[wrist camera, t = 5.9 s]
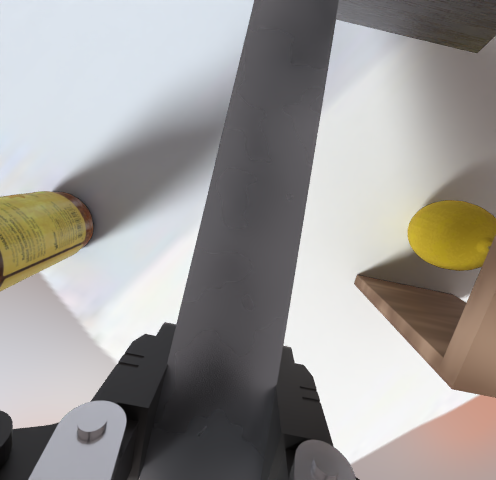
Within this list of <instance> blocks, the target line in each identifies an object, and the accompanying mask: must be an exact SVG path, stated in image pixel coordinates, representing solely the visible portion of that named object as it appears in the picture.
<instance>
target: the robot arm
mask: <svg viewBox="0 0 496 480" xmlns="http://www.w3.org/2000/svg"><path fill="white" fill-rule="evenodd" d="M175 329H176V324H171V323H166V322H165V323H164V324H163V325H162V327H161V329H160V330H159V332H158V334H157V335H156V336H153V335H148V334H144V335H143V336H141V337H139V338H138V339H136V340H135V341H133V342H132V343H131V345H130V346H129V348H128V349H127V351H126V352H125V355H123V356H122V358H121V359H120V361H119V363H118V364H117V365H116V366H115V368H114V369H113V370H112V372H111V374H110V375H109V376H108V378H107V379H106V380H105V382H104V383H103V385H102V386H101V388H100V389H99V390H98V392H97V393H96V395H95V396H94V398H93V399H92V400H91V402H88V403H85V404H83V405H80V406H78V407H76V408H74V409H73V410H71V411H70V412H69V413H68V414H66V415H65V416H64V417H63V418H62V420H61V421H60V422H59V423H56V424H52V425H46V426H38V427H30V428H20V429H12V428H13V425H12V419H11V417H10V416H9V415H8V414H7V413H5V412H3V411H0V480H139V477H140V474H141V472H142V469H143V466H144V461H145V457H146V453H147V449H148V445H149V441H150V436H151V432H152V428H153V424H154V420H155V416H156V411H157V407H158V403H159V399H160V395H161V391H162V386H163V382H164V378H165V374H166V370H167V366H168V364H167V362H168V358H169V354H170V349H171V345H172V341H173V337H174V333H175ZM316 390H317V389H316V386H315V382H314V379H313V376H312V375H311V374H310V372H309V371H308V370H307V369H306V367H305V366H304V365H301V364H296V363H294V358H293V354H292V349H291V347H287V346H283V350H282V356H281V362H280V368H279V375H278V381H277V385H276V388H275V394H274V401H273V407H272V413H271V419H270V425H269V431H268V438H267V444H266V450H265V456H264V462H263V468H262V475H261V480H359V479H358V478H356V477H355V474H354V472H353V469H352V467H351V465H350V463H349V462H348V461H347V459H346V458H345V457H344V456H343V455H342V453H340V452H339V451H338V450H337V449H336V448H334V447H333V443H332V440H331V436H330V433H329V430H328V426H327V423H326V420H325V416H324V413H323V409H322V406H321V403H320V399H319V396H318V393H317V392H316Z"/></svg>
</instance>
